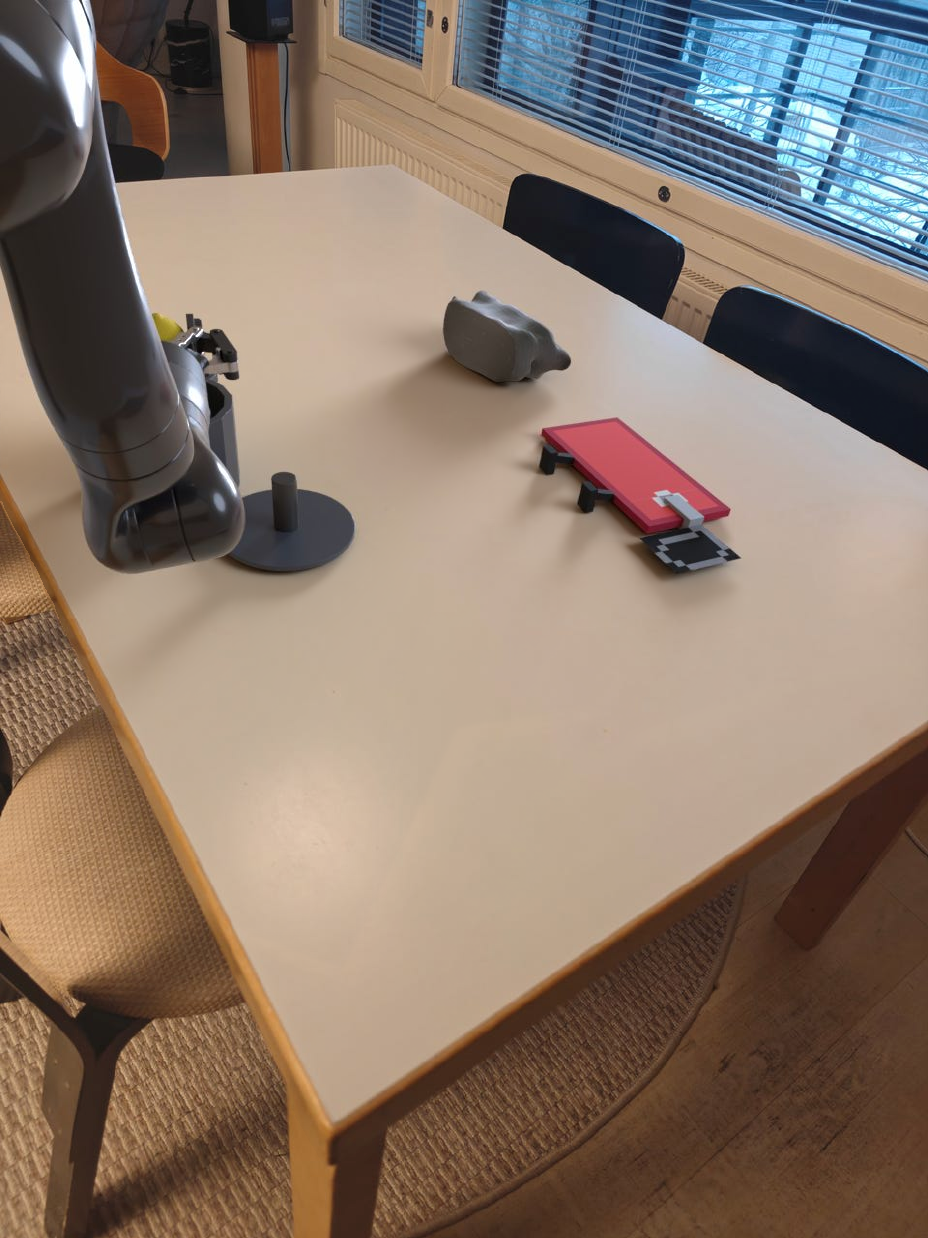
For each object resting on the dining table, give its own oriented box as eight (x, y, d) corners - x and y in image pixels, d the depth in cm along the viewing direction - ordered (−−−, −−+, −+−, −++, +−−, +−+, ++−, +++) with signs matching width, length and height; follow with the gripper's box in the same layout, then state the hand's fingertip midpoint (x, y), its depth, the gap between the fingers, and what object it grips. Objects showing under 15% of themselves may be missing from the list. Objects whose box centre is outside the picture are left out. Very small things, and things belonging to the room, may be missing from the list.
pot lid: (193, 559, 82) (184, 501, 78) (249, 486, 92) (245, 432, 88) (329, 588, 81) (328, 530, 76) (371, 511, 91) (372, 456, 87)
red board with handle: (659, 585, 85) (772, 557, 91) (666, 562, 83) (781, 535, 89) (514, 442, 105) (615, 427, 111) (517, 421, 103) (619, 407, 109)
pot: (78, 516, 86) (57, 431, 79) (163, 432, 99) (151, 354, 93) (197, 541, 84) (185, 456, 78) (267, 453, 98) (262, 374, 92)
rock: (577, 380, 120) (587, 324, 114) (518, 399, 114) (526, 341, 108) (490, 333, 129) (495, 279, 124) (431, 348, 123) (435, 293, 118)
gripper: (246, 358, 70) (231, 283, 82) (56, 364, 66) (69, 285, 79) (253, 440, 75) (237, 358, 87) (76, 450, 71) (85, 363, 83)
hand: (157, 324), depth 83 cm, fingers closed on lemon, 5 cm apart
